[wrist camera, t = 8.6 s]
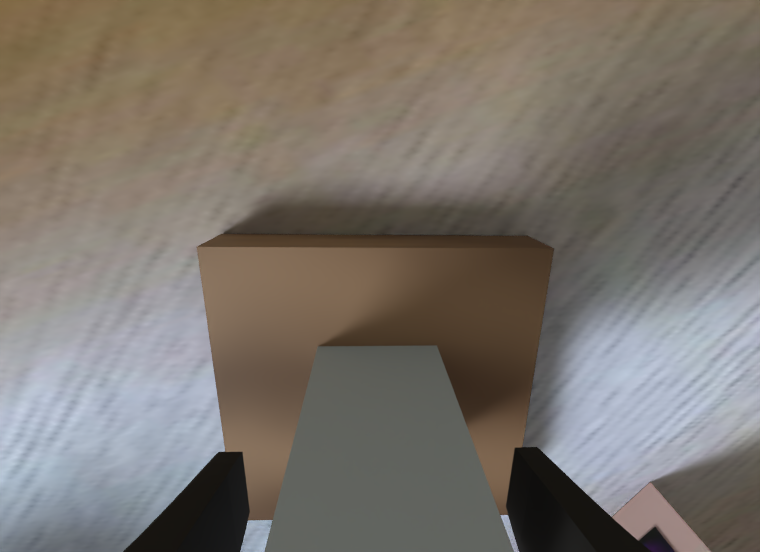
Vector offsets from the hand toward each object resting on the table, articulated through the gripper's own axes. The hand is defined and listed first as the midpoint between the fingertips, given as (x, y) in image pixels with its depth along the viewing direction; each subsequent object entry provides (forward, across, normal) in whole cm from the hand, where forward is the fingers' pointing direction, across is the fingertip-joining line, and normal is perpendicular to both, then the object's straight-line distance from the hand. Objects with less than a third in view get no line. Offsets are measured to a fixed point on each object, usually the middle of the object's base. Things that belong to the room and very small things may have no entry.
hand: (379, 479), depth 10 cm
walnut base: (+5, 0, 0) cm, 5 cm away
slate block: (+3, 0, 0) cm, 3 cm away
